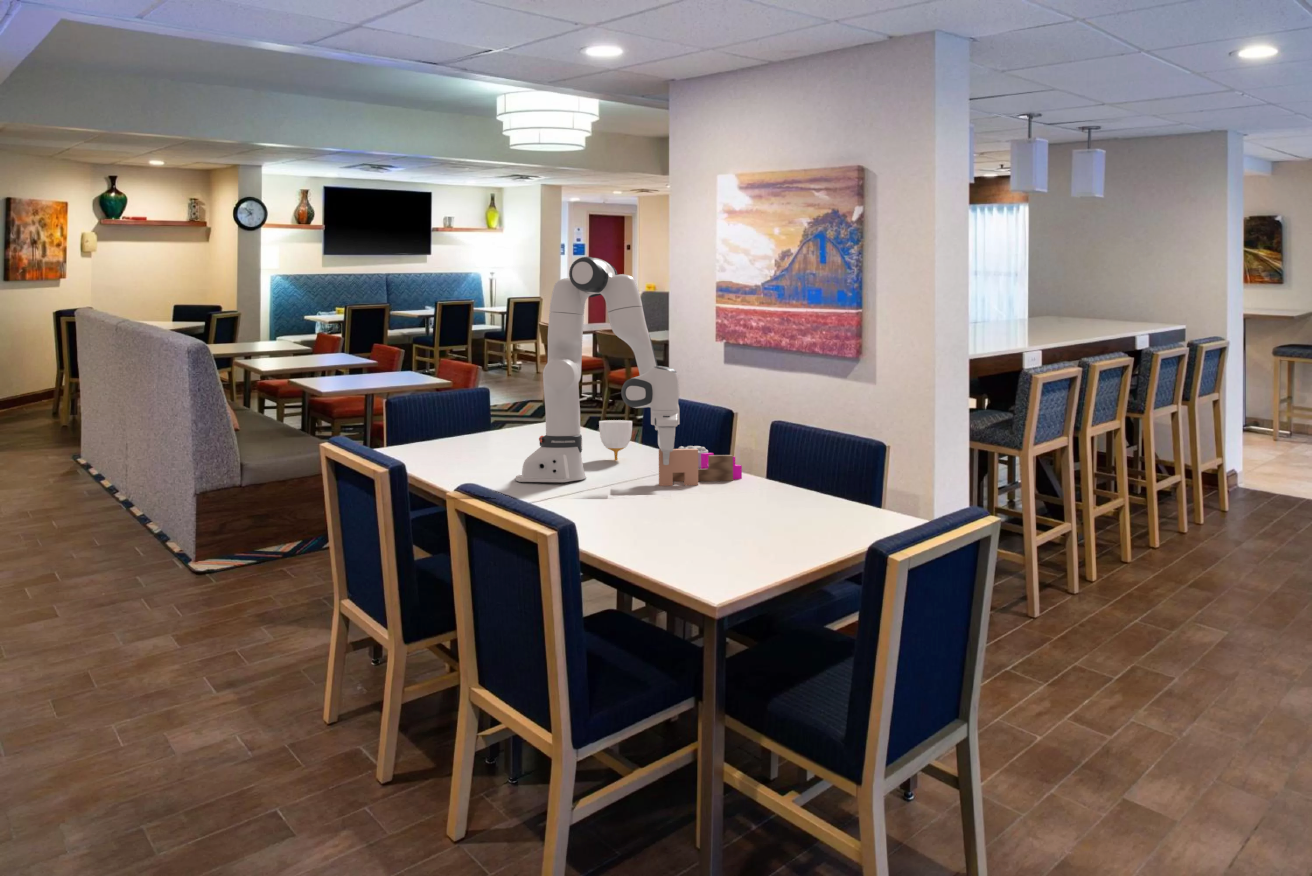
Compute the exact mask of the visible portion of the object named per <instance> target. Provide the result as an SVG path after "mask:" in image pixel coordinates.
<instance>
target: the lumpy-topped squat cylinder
mask: <svg viewBox="0 0 1312 876" xmlns="http://www.w3.org/2000/svg"><path fill="white" fill-rule="evenodd" d="M677 449H698V468H700V469H701V453H709V450H708V449H706V447H705V446H700V445H694V446H693V445H687V446H682V445H681V446H679V447H678V448H677Z"/></svg>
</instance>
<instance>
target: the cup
mask: <svg viewBox="0 0 1312 876" xmlns="http://www.w3.org/2000/svg"><path fill="white" fill-rule="evenodd" d="M598 425H599V426H598V427H599V428H598V429H599V430H598V431H599V437H600V440H601V443H602V445H603V447H605V448H606V449H607V450H610V451H611V452H613V453H614V461H618V454H619V452H620V451H622V450H623V449H626V448H627V447H628V445H629V444H630V442H631V438H632V432H633V420H626V419H625V420H624V419H622V420H621V419H618V420H617V419H616V420H615V419H613V420H612V419H611V420H610V419H609V420H608V419H607V420H599V421H598Z"/></svg>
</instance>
